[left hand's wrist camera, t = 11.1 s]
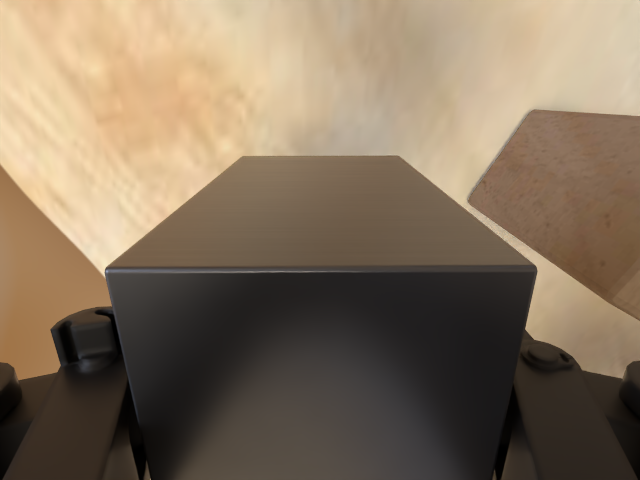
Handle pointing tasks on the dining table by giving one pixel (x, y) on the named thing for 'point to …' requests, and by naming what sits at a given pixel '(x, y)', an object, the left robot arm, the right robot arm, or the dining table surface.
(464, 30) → the dining table surface
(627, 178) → the wooden block
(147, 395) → the bar
